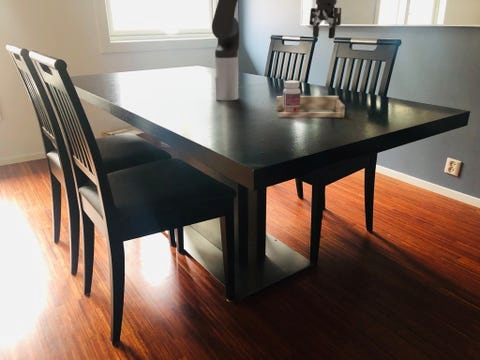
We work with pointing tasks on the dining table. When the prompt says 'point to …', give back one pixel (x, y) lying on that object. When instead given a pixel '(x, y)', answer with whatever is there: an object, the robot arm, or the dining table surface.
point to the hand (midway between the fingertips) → (323, 37)
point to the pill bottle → (291, 96)
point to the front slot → (320, 110)
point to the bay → (314, 107)
